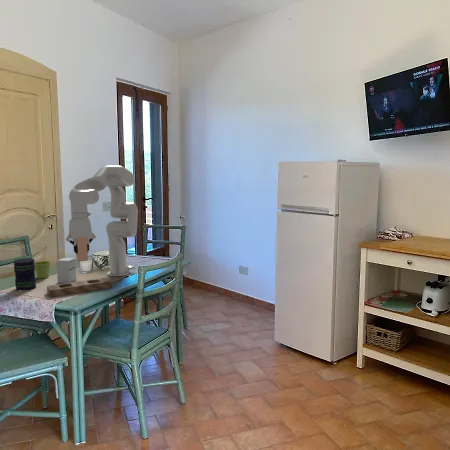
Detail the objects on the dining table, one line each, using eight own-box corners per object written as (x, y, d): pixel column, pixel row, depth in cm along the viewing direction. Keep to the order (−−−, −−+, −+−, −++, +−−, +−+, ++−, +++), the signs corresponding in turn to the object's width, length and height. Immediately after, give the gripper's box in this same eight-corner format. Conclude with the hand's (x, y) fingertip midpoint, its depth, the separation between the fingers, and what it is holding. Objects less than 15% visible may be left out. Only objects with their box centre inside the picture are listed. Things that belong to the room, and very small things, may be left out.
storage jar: (16, 287, 219) (13, 259, 217) (36, 284, 223) (34, 257, 221) (15, 292, 210) (12, 263, 208) (36, 289, 214) (34, 261, 212)
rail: (106, 283, 224) (106, 277, 224) (111, 287, 217) (111, 281, 216) (47, 292, 209) (46, 286, 208) (50, 297, 201) (50, 290, 200)
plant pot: (30, 279, 235) (29, 264, 234) (41, 274, 244) (40, 260, 243) (44, 280, 233) (43, 264, 232) (55, 275, 242) (54, 261, 241)
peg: (85, 259, 207) (84, 235, 205) (87, 260, 203) (86, 236, 201) (76, 260, 204) (75, 236, 203) (78, 261, 201) (77, 237, 199)
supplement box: (69, 283, 225) (68, 260, 224) (57, 282, 227) (55, 260, 225) (76, 279, 232) (75, 257, 231) (65, 279, 234) (63, 257, 232)
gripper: (95, 214, 208) (97, 249, 211) (59, 216, 199) (62, 253, 202) (99, 215, 202) (101, 252, 205) (62, 217, 193) (65, 256, 196)
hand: (81, 252), depth 203 cm, fingers closed on peg, 4 cm apart
